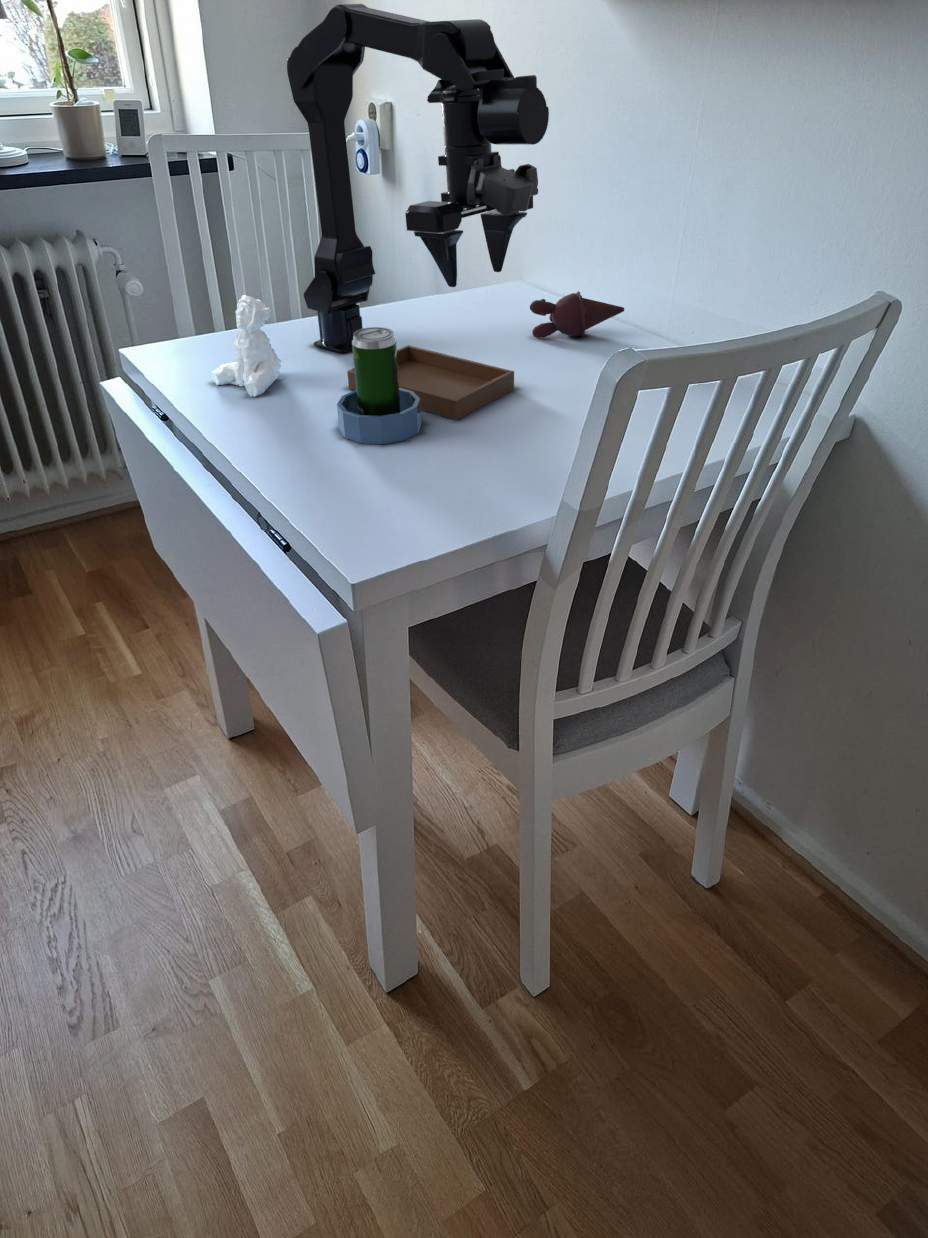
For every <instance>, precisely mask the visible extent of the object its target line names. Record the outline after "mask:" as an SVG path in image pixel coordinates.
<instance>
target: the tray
mask: <svg viewBox="0 0 928 1238" xmlns="http://www.w3.org/2000/svg"><path fill="white" fill-rule="evenodd" d="M397 362H398V379H399V388H403V389H406V390H410V391H413V392H414V393H415V394H416V395H417V396H418V397H419V398H420V403H421V411H424V412H428V413H431V414H434V415H437V416H441V417H445V418H448V419H451V420H455V421H457V420H459V419H461V418H463V417H465V416H467V415H469V414H470V413H473V412H475V411H476V410H479V409H480V408H482V407H484V406H485V405H487V404H489V403H491V402H493V401H495V400H497V399H499V398H500V397H502V396H504V395H506V394H508V393H510V392H512V391H513V390H514V389H515V371H514V370H510V369H506V368H502V367H499V366H494V365H490V364H486V363H482V362H478V361H474V360H470V359H466V358H463V357H459V356H454V355H450V354H445V353H442V352H438V351H434V350H429V349H425V348H421V347H417V346H414V345H410V344H408V345H406V346H403V347H400V348H397ZM346 373H347V382H348V383H347V384H348V389H350V390H352V391H354V390H356V381H355V371H354V368H351V369H348V370H347V371H346Z"/></svg>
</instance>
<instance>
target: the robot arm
mask: <svg viewBox="0 0 928 1238" xmlns="http://www.w3.org/2000/svg"><path fill="white" fill-rule="evenodd" d="M366 48H369V49H373V50H376V51H380V52H384V53H387V54H391V55H396V56H399V57H404V58H408V59H411V60H413V61H414V62H417V63H418V65H420V67H421V69H422V70H423V71H425V72H427V73H429V74H431V75H432V76H434V77H436V78H438V80H437V82H436V85H435V87H434V88H433V89H432V90H431V91H430V92H429V94H428V96H427V97H426V101H427V103H428V104H440V103H441V117H442V130H443V146H444V154H443V155H442V154H441V155H438V156H437V161H438V166H439V167H441V166H442V167H445V174H446V189H447V191H445V192H441V193H440V200H441V201H438V200H437V201H435V200H433V201H432V200H426V201H423V202H418V203H414V204H409V206H408V208H407V209H406V211H405V213H404V216H405V224H406V226H405V227H406V231H409V232H413V234H414V237H417V238H418V237H419V238H420V240H421V241H422V242H423V244H424V246H425V247H426V249H427V250H428V252H429V254H430V256H431V257H432V258H433V260H434V262H435V264H436V267H438V269H439V271H440V273H441V275H442V277H443V279H444V280H445V282H446V284H447V286H448V287H449V288H456V287H457V285H458V284H457V282H458V256H457V255H458V253H457V251H458V250H457V248H458V247H457V244H458V242H459V240H460V238H461V237H462V235H463V234H464V230H462V229H459V228H460V225H461V223H462V221H463V220H462V219H464V218H467V217H473V216H475V215H480V220H481V224H482V228H483V233H484V238H485V242H486V247H487V252H488V256H489V260H490V264H491V267H492V271H493V272H495V273H501V272H502V271H503V267H504V263H505V259H506V255H507V253H508V248H509V245H510V244H509V243H510V240H511V237H512V235H513V231H514V229H515V227H516V225H518V224H519V222H521V220H522V219H523V218H526V217H527V215H528V212H527V211H528V210H533V209H534V196H536V195H538V194H539V188H538V186H539V177H538V170H537V167H536V166H534V165H532V164H530V163H526V164H522V165H521V164H520V165H519V166H518V167H516V169H514V168H510V169H507V168H505V167H503V166H502V157H501V155H500V154H499V153H500V151H492V145H495V146H496V145H498V146H499V145H500V146H501V145H504V146H505V145H507V146H508V145H514V146H515V145H523V146H524V145H528V146H529V145H534V146H535V145H537V144H539V143H540V142H541V141H542V140H543V138H544V136H545V134H546V133H547V132H546V131H547V129H548V126H549V120H550V119H549V118H550V109H549V106H548V104H547V101H546V98H545V95H544V93H543V92H542V90H540V89H539V88H538V81H537V80H538V79H537V75H536V74H529V75H521V76H520V75H519V76H514V75H513V72H512V71H511V69H510V67H509V66H508V65H509V64H507V62H506V59H505V58H504V56H503V54H502V52H501V51H500V49H499V47H498V46H497V43H496V41H495V38H494V34H493V32H492V30H491V25H490V24H489V23H488V22H487V21H485V20H483V19H480V18H479V19H478V18H477V19H476V18H475V19H455V20H454V19H453V20H439V21H438V20H436V21H429V20H424V19H421V18H416V17H412V16H407V15H403V14H398V13H395V12H394V13H393V12H388V11H385V10H380V9H376V8H372V7H368V6H367V5H365V4H363V3H344V4H342V3H340V4H337V5H335V6H333V7H332V8H331V9H330V10H329V11H328V13H327V15H325V18H324V19H323V21H321V22H319V24H318V25H316V26H315V27H314V28H313V29H312V30H311V31H309V32H308V33H307V34H306V35H305V36H304V37H303V38H302V39H301V40H300V42H299V43H298V45H297V46H295V47H294V48H293V49H292V51H291V53H290V56H289V57H288V58H287V62H286V72H287V78H288V82H289V87H290V90H291V97H292V99H293V102H294V104H295V106H296V107H297V109H298V111H299V112H300V114H301V116H303V118H304V121H306V123H307V128H308V135H309V144H310V151H311V152H310V153H311V159H312V166H313V174H314V175H313V176H314V183H315V191H316V192H315V193H316V198H317V207H318V216H319V223H320V231H321V236H320V240H319V243H318V246H317V249H316V252H315V254H314V258H313V260H314V261H313V262H314V277H313V278H312V280H311V282H310V283H309V285H308V287H307V288H306V289H305V291H304V292H303V298H304V302H305V305H306V308H307V309H309V310H312V311H316V312H317V313H316V314H317V322H318V323H317V324H318V331H319V338H320V339H318V340H316V341H314V342H312V343H313V346H314V347H317V348H321V349H324V350H328V351H333V352H336V353H340V354H343V353H347V352H349V351H351V350H352V351H353V349H352V341H353V333H354V332H355V331H357V330H360V329H363V318H362V316H361V310H360V309H361V308H360V305H359V304H360V303H366V302H368V299H369V294H370V290H371V289H370V288H371V287H372V285H373V282H374V281H373V279H374V278H373V276H375V275H376V271H375V268H374V263H373V262H374V261H373V249H372V247H371V246H370V245H364V243H363V242H362V240H361V239H360V237H359V236H358V234H357V230H356V221H355V212H354V203H353V191H352V182H351V172H350V163H349V153H348V145H347V144H348V143H347V135H346V125H345V124H346V122H345V120H346V117H347V115H348V112H349V109H350V106H351V103H352V100H353V97H354V75H355V74H356V72H357V71H358V69H359V68H360V67H361V65H362V64H363V62H364V60H365V53H366V52H365V51H366Z"/></svg>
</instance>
